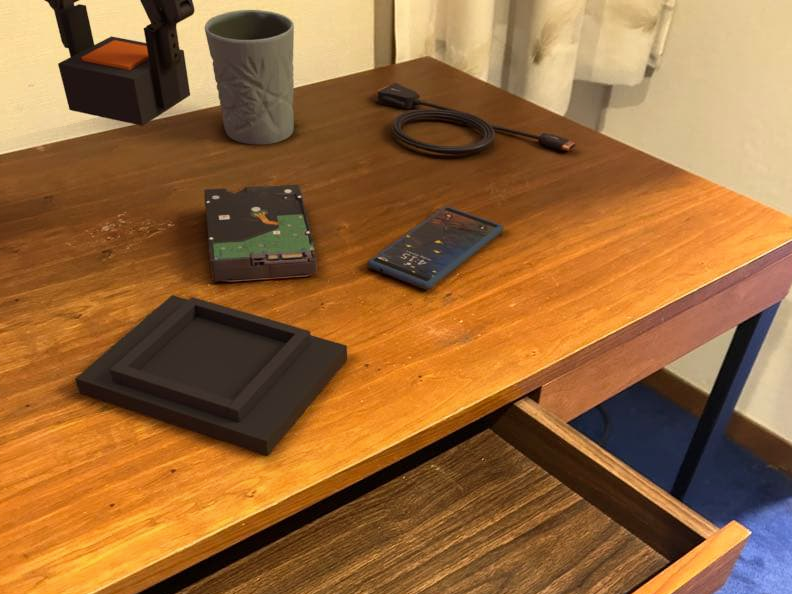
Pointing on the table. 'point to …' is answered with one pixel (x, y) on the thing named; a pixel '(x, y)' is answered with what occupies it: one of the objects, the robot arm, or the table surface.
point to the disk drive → (259, 233)
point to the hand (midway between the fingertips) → (129, 94)
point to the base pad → (216, 372)
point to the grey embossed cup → (253, 74)
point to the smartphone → (435, 247)
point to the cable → (409, 100)
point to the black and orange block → (116, 81)
